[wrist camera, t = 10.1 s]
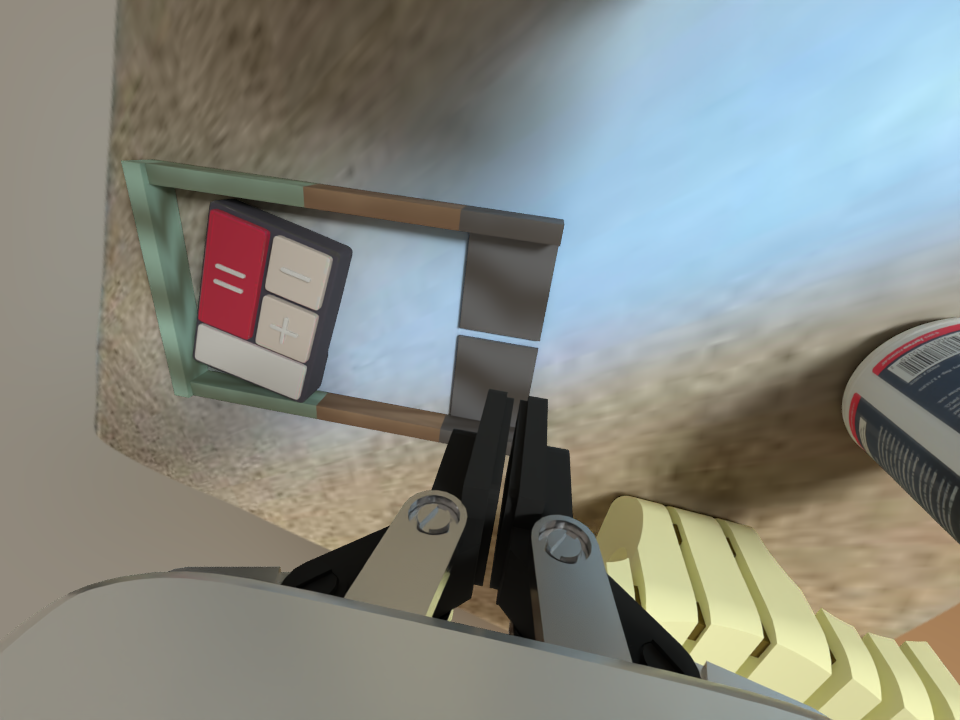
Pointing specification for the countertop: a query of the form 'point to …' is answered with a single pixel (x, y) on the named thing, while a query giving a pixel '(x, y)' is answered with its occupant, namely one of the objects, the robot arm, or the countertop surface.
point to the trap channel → (493, 233)
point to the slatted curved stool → (764, 618)
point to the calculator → (268, 299)
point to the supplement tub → (913, 415)
